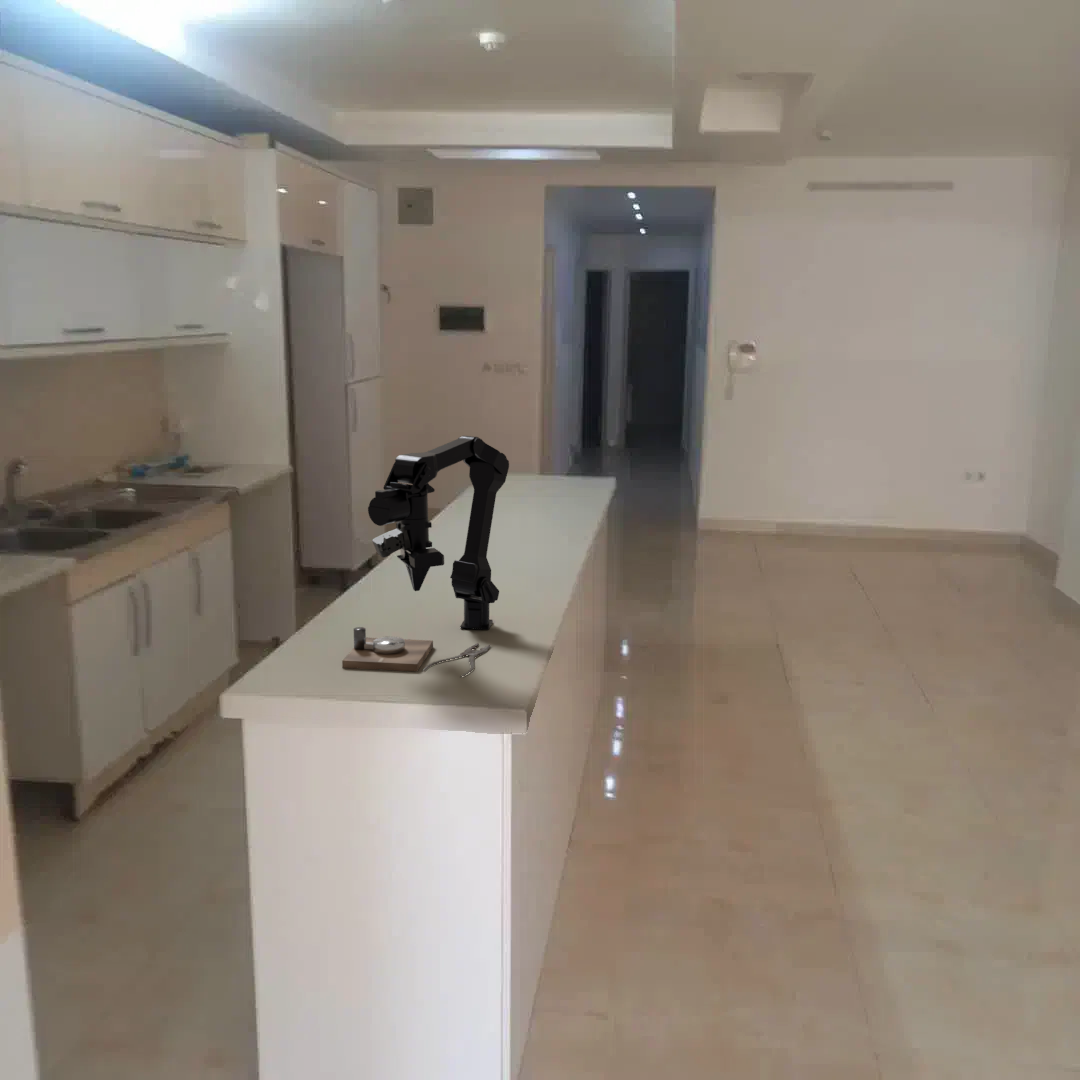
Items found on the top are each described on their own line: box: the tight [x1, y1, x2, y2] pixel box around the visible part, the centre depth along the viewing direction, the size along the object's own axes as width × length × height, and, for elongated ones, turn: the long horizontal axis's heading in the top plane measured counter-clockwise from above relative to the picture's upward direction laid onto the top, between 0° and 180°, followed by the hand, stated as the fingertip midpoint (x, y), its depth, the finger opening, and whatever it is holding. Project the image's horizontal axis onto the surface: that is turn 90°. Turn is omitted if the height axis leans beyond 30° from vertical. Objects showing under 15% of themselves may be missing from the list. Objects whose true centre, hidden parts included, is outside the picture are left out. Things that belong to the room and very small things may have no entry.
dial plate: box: [341, 636, 434, 672], centre depth 206 cm, size 15×15×2 cm
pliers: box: [421, 642, 491, 678], centre depth 206 cm, size 10×1×20 cm
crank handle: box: [353, 626, 405, 654], centre depth 206 cm, size 10×6×4 cm, turn 85°
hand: (416, 590), depth 210 cm, fingers closed
